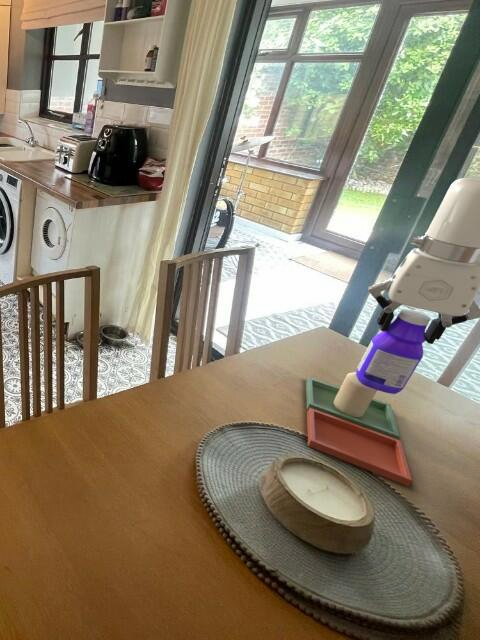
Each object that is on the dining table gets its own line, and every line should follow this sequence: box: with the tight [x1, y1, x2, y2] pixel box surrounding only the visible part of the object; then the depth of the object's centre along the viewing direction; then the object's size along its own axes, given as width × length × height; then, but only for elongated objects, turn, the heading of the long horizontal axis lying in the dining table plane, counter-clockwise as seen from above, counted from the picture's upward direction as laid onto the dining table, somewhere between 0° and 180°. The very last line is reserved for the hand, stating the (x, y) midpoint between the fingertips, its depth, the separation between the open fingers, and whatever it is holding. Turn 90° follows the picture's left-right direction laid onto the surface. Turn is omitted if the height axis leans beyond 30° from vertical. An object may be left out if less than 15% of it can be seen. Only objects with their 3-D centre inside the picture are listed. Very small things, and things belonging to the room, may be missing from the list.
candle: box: [333, 371, 378, 417], centre depth 95 cm, size 6×6×10 cm
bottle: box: [355, 308, 431, 395], centre depth 81 cm, size 7×6×17 cm
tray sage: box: [305, 376, 400, 440], centre depth 97 cm, size 16×12×2 cm
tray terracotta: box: [306, 408, 413, 487], centre depth 87 cm, size 16×12×2 cm
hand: (404, 333), depth 79 cm, fingers closed on bottle, 5 cm apart
